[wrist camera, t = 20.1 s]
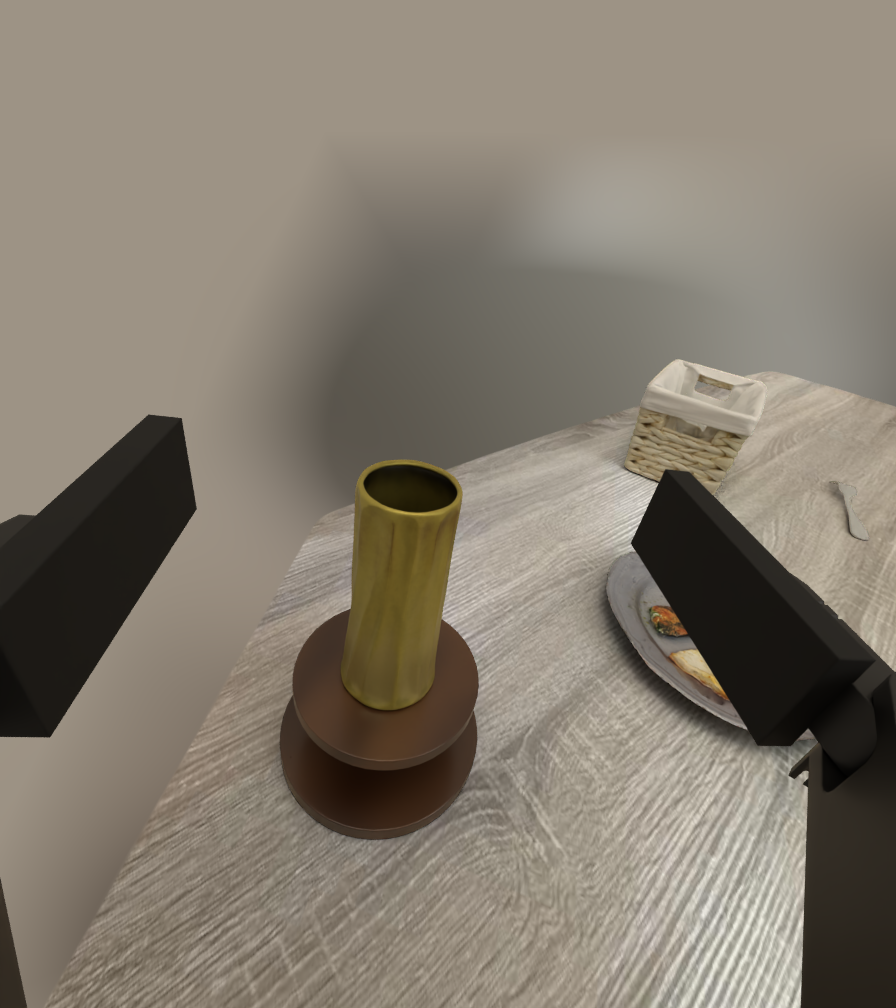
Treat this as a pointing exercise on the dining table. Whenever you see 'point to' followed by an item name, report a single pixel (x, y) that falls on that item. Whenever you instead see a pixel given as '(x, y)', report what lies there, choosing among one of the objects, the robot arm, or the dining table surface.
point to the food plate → (665, 638)
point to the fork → (852, 512)
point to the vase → (398, 580)
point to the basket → (693, 423)
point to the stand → (377, 741)
